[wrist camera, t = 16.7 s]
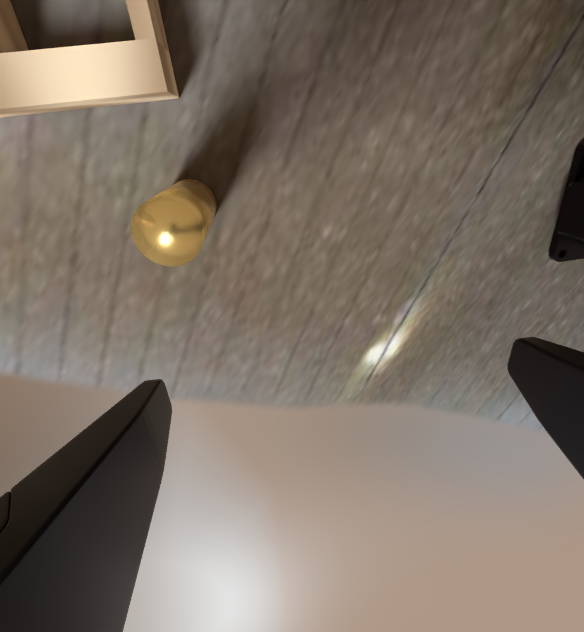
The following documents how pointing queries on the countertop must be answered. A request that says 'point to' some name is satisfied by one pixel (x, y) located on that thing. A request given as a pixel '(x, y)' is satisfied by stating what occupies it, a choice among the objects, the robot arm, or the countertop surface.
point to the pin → (174, 222)
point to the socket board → (85, 67)
